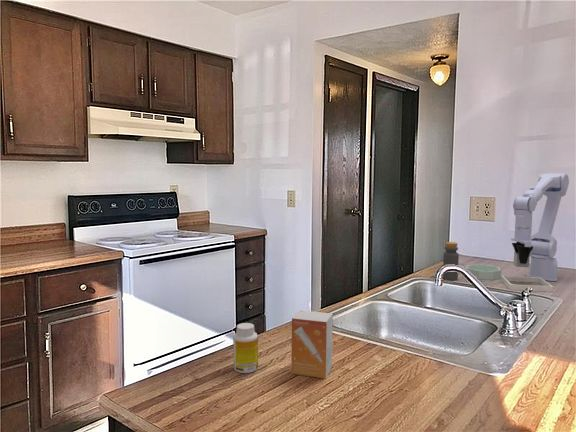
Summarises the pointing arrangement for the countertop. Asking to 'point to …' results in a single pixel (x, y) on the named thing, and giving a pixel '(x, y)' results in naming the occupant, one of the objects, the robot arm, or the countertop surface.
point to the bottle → (451, 260)
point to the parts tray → (545, 287)
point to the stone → (517, 261)
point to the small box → (312, 343)
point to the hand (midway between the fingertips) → (521, 262)
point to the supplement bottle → (245, 348)
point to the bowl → (484, 271)
